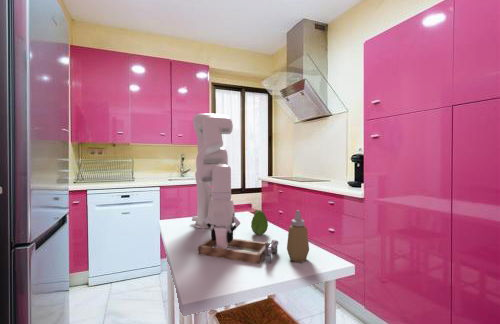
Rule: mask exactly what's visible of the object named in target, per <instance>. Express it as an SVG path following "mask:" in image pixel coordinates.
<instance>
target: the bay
mask: <svg viewBox="0 0 500 324" xmlns="http://www.w3.org/2000/svg"><path fill="white" fill-rule="evenodd" d="M265 242H266V241H265ZM265 242H263V241H256V240H255V241H254V240H247V239H241V238H233V240H232V241H231V242H230V243H227V247H230V249H229V248H227V249H223V248H217V243H216V239H215V240H214V241H212V238H211V237H210V238H209V239H208V240H206V241H205V242H203V243H202V244H200V245H199V246H198V247H197V250H198V251H197V252H198V255H201V256H207V257H213V258H219V259H220V258H221V259H227V260H231V261H239V262H247V263H251V264H252V263H253V264H258V265H260V264H261V263H262V262H263V260H265V254H264V251H265ZM270 243H271V242H268V246H269V245H270ZM215 246H216V247H215ZM231 248H238V249H239V250H236V249H231Z"/></svg>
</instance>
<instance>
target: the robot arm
mask: <svg viewBox="0 0 500 324" xmlns="http://www.w3.org/2000/svg"><path fill="white" fill-rule="evenodd" d="M192 118H193V119H192V125H193V128H194V132H195V135H196V138H197V155H196V158H195V159H196V160H195V168H196V170H195V174H194V175H195V183H196V198H197V200H196V201H197V202H196V203H197V204H196V206H197V209H196V210H197V214H196V215H197V216H192V218H191V221H192V222H195V223H194V227H195V228H197V229H204V230H207V229H209V231H210V239H211V238H212V241H214V240H215V239H216V235H215V230H214V227H215V226H216V225H217V226H227V229H228V231H229V232H228V233H227V242H228V243H230V242H231V241H232V240H233V239H234V231H235V230H236V229H237V228H238V227H239V226H240V225H241V222H240V221H239V219H238V218H237V217H236V214H235V211H236V210H235V205H234V200H233V199H232V169H231V166H230V165H229V164H228V163H229V162H228V161H229V160H228V151H227V149H226V148H225V147H223V146H224V141H223V135H230V134H232V132H233V126H234V124H233V121H232V119H231V117H229V116H228V115H226V114H219V113H197V114H195V115H194V116H193V117H192ZM233 224H234V225H233Z"/></svg>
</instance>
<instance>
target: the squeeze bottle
mask: <svg viewBox="0 0 500 324" xmlns="http://www.w3.org/2000/svg"><path fill="white" fill-rule="evenodd" d="M286 250H287V251H286V252H287V253H288V256H289V259H290V260H291V261H292V262H295V263H302V262H305V261H306V260H307V257H308V255H309V251H310V245H309V235H308V227H307V226H305V219H303V218H302V214H301V210H300V209H296V210H295V215H294V218H292V219H291V224H290V225H289V226H288V233H287V243H286Z"/></svg>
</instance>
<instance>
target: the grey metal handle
mask: <svg viewBox="0 0 500 324" xmlns="http://www.w3.org/2000/svg"><path fill="white" fill-rule="evenodd" d="M268 243H270V245H269V246H268ZM278 245H279V241H278V239H272V240H271V242H268V241H265V251H264V254H265V257H264V263H265V264H271V263H272V254H275V255H277V254H278Z"/></svg>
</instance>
